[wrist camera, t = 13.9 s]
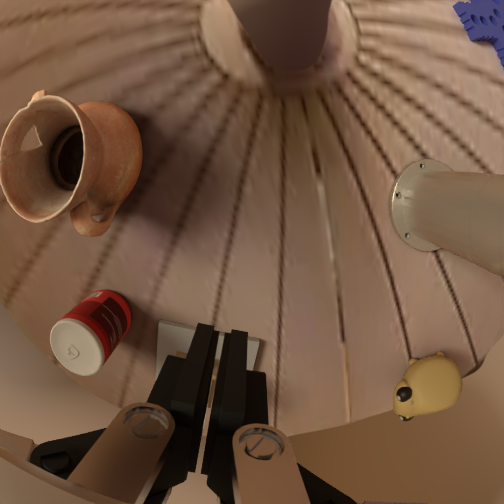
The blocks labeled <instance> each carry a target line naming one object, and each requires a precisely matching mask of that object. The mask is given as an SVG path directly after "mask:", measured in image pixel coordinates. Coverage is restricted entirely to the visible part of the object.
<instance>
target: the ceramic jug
mask: <svg viewBox="0 0 504 504" xmlns="http://www.w3.org/2000/svg"><path fill="white" fill-rule="evenodd" d="M46 93H47V92H46V90H42V91H39V92H37V93H35V94H34V96H33V98H32V100H31V102H29V103H28V106H27V107H25V108H23V109H21V110H19V111H18V112H17V114H16V115H15V116H14V117H13V119H12V120H11V122H10V124H9V125H8V127H7V129H6V131H5V134H4V137H3V139H2V144H1V148H0V182H1V186H2V189H3V192H4V194H5V196H6V198H7V201H8V202H9V204H10V205H11V206H12V208H13V209H14V210H15V212H16V213H18V214H19V215H20V216H21V217H22V218H24V219H26V220H28V221H31V222H35V223H40V222H46V221H49V220H51V219H54V218H56V217H58V216H60V215H61V214H63V213H64V212H66V211H67V210H70V216H71V220H72V223H73V225H74V227H75V228H76V230H77V231H78V232H79V233H80V234H82V235H84V236H89V237H95V236H100V235H102V234H104V233H105V232H106V231H107V230H108V228H109V227H110V225H111V222H112V220H113V218H114V215H115V212H116V211H117V210H118V208H119V206H120V205H121V203H122V202H123V201H124V200H125V199H126V198H127V196H128V195H129V194H130V192H131V191H132V189H133V188H134V186H135V184H136V182H137V180H138V177H139V174H140V171H141V167H142V160H143V148H142V141H141V136H140V133H139V130H138V128H137V126H136V124H135V122H134V121H133V119H132V118H131V116H130V115H129V114H128V113H127V112H126V111H124V110H123V109H121V108H120V107H118V106H117V105H115V104H112V103H109V102H104V101H92V102H87V103H84V104H81V105H78V106H77V105H75V104H74V103H72V102H71V101H69V100H67V99H65V98H63V97H60V96H54V95H47V96H46ZM34 124H35V127H36V129H35V130H36V134H37V136H38V139H39V142H40V145H39V146H37V147H34V148H32V149H29V150H24V151H21V143H22V141H23V139H24V136H25V135H26V134H27V132H28V131H29V130H30V128H31V127H32V126H33V125H34ZM102 213H103V216H102V218H101V219H100V221H99V222H98V221H95V220H94V219H93V218H92V216H91V215H98V214H102Z"/></svg>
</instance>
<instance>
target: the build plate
mask: <svg viewBox="0 0 504 504" xmlns="http://www.w3.org/2000/svg"><path fill="white" fill-rule="evenodd" d="M196 328H197V327H194V326H189V325H184V324H179V323H175V322H170V321H166V320H160V321H159V325H158V340H157V359H156V380H157V377H158V375H159V373H160V370H161V368H162V366H163V364H164V361H165V359H166V357H167V355H172V356H176V353H177V351H179V352H184V353H188V350H189V347H190V345H191V342H192V339H193V336H194V333H195V331H196ZM224 335H225V333H224V332H220V333H219V339H218V345H217V351H216V357H215V359H219V362H220V357H221V351H222V346H223V340H224ZM259 343H260V340H259V338H253V337H248V346H247V370H251V371H253V367H254V363H255V359H256V355H257V351H258V347H259ZM219 362H218V368H219ZM218 368H217V373H216V379H217V374H218ZM216 379H215V385H216ZM215 385H214V391H215ZM214 391H213V396H212V400H213V397H214Z"/></svg>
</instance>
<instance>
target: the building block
mask: <svg viewBox="0 0 504 504" xmlns="http://www.w3.org/2000/svg"><path fill="white" fill-rule="evenodd" d="M453 8H454V9H455V11H456V13H457V15H458V16H460V18H461V22H462V23H463V24H464V25H465V26H464V28H465V30H467V31H468V36H469V38H470V40H471V41H477V40H478V41H486V40H487V41H491V42H492V44H493V46H494V48H495V50H496V51H497V52H498V57H499V58H500V59H501V64H502V65H503V67H504V0H471V3H469V2H466V3H464V2H458V3H456V4H455V5H454V6H453Z"/></svg>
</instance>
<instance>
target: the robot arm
mask: <svg viewBox="0 0 504 504" xmlns="http://www.w3.org/2000/svg"><path fill="white" fill-rule="evenodd" d="M420 165H421V167H420ZM396 193H397V197H396ZM389 206H390V216H391V220H392V224H393V226H394V228H395V231H396V232H397V234H398V235H399V237H400V238H401V239H402V240H403V241H404V242H405V243H406V244H408V245H409V246H411V247H413V248H415V249H417V250H421V251H434V250H438V249H440V248H443V249H445V250H447V251H449V252H451V253H453V254H456V255H458V256H460V257H462V258H464V259H466V260H468V261H470V262H472V263H474V264H476V265H478V266H480V267H482V268H484V269H486V270H488V271H490V272H492V273H494V274H497V275H500V276H504V175H500V174H488V173H473V172H454V171H453V170H452V169H451V168H449V167H448V166H447V165H446V164H444V163H442V162H440V161H437V160H434V159H423V160H418V161H415V162H412V163H411V164H409V165H408V166H406V167H405V168H404V169H403V170H402V171H401V172H400V174H399V175H398V177H397V178H396V180H395V182H394V185H393V187H392V191H391V195H390V204H389ZM405 234H406V236H405ZM219 333H220V331H215V330H214V326H211V325H206V324H201V323H198V325H197V328H196V331H195V333H194V336H193V339H192V342H191V345H190V347H189V350H188V353H187V356H186V358H181V357H177V356H172V355H167V357H166V359H165V361H164V364H163V366H162V368H161V370H160V373H159V375H158V377H157V380H156V382H155V384H154V386H153V389H152V391H151V393H150V396H149V398H148V400H147V403H143V402H139V403H133V404H130V405H128V406H126V407H124V408H123V409H122V410H121V411H120V412H119V413H118V414H117V416H116V417H115V418H114V420H113V421H112V422H111V424H110V425H109V426H108V427H107V428H104V429H100V430H96V431H92V432H88V433H84V434H80V435H76V436H72V437H67V438H62V439H58V440H53V441H48V442H45V443H42V444H40V445H38V444H35V443H34V441H33V440H32V439H29V438H25V437H22V436H19V435H15V434H12V433H10V432H7V431H4V430H1V429H0V504H166V503H167V500H168V498H169V496H170V494H171V491H172V487H173V486H176V485H178V484H180V483H182V482H184V481H185V480H186V478H187V474H188V471H189V472H194V473H195V469H196V464H197V458H198V453H199V447H200V442H201V436H202V431H203V425H204V420H205V415H206V409H207V404H208V399H209V393H210V387H211V381H212V375H213V369H214V363H215V357H216V351H217V345H218V339H219ZM247 346H248V332H244V331H238V330H233V329H232V331H231V333H226V332H225V335H224V340H223V346H222V351H221V357H220V362H219V368H218V374H217V379H216V385H215V391H214V397H213V403H212V408H211V414H210V420H209V426H208V432H207V439H206V445H205V451H204V457H203V463H202V469H201V474H205V475H208V478H207V486H208V487H209V488H210V489H211V490H212V491H213V492H214V493H215V494H217V504H360V503H356V502H355V501H354V500H353V499H351V498H350V497H349V496H346V495H345V494H344V493H342V492H340V491H339V490H337V489H336V488H334V487H332V486H331V485H329V484H328V483H326V482H325V481H323V480H322V479H320V478H319V477H317V476H316V475H314V474H313V473H311V472H310V471H308V470H307V469H306V468H304V467H303V466H301V465H300V464H298V463H297V462H296V459H295V456H294V453H293V450H292V447H291V444H290V442H289V440H288V438H287V436H286V435H285V434H284V433H282V432H281V431H280V430H278V429H276V428H275V427H272V426H269V424H268V405H267V387H266V374H265V372H258V371H251V370H247ZM362 504H426V503H395V502H374V501H364V502H363V503H362Z"/></svg>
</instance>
